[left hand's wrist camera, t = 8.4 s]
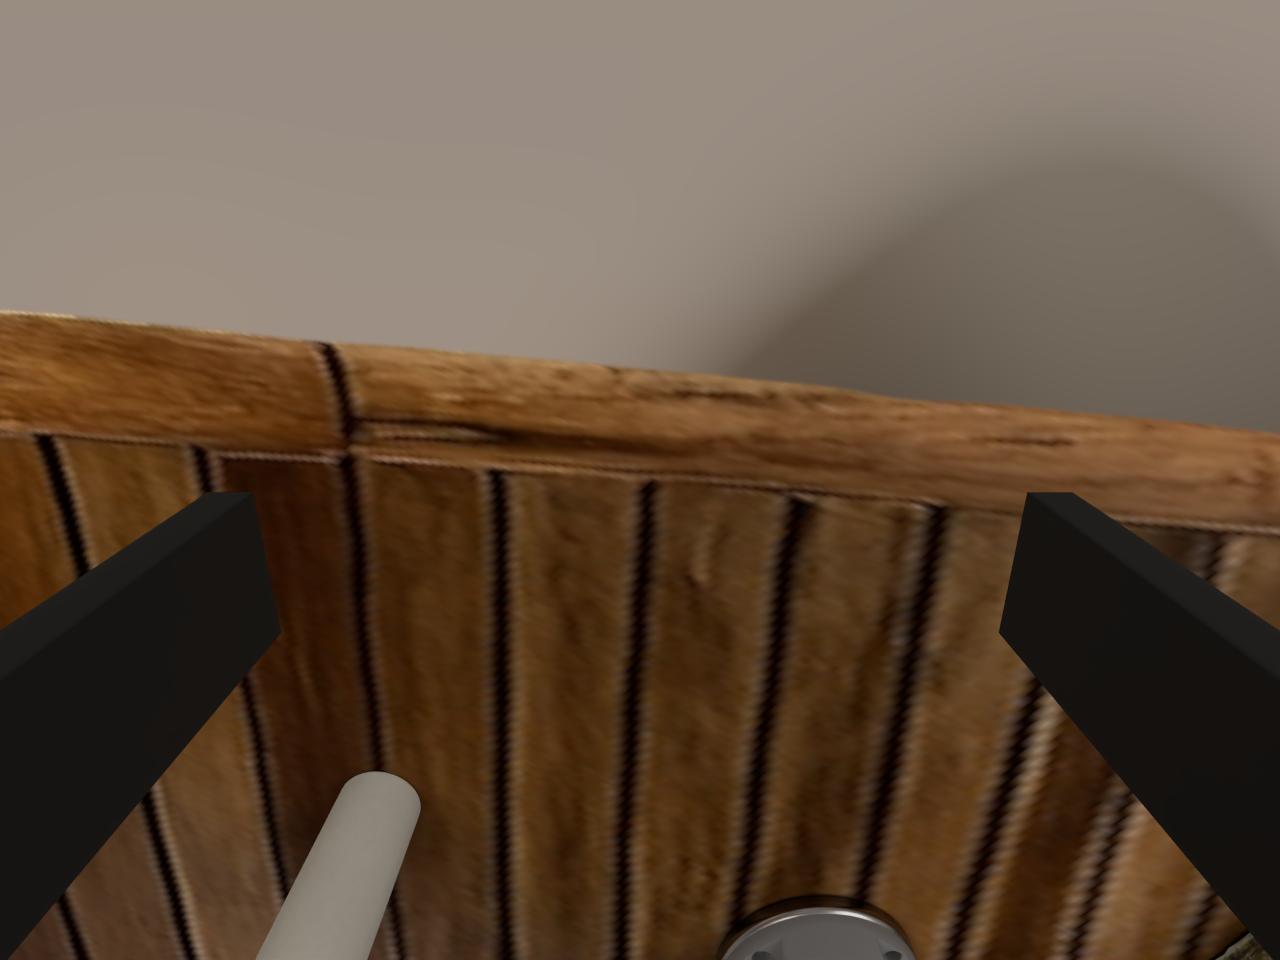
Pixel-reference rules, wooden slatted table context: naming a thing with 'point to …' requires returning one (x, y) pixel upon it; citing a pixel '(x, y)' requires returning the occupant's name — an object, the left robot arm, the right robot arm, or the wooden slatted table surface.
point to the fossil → (1246, 950)
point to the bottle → (347, 873)
